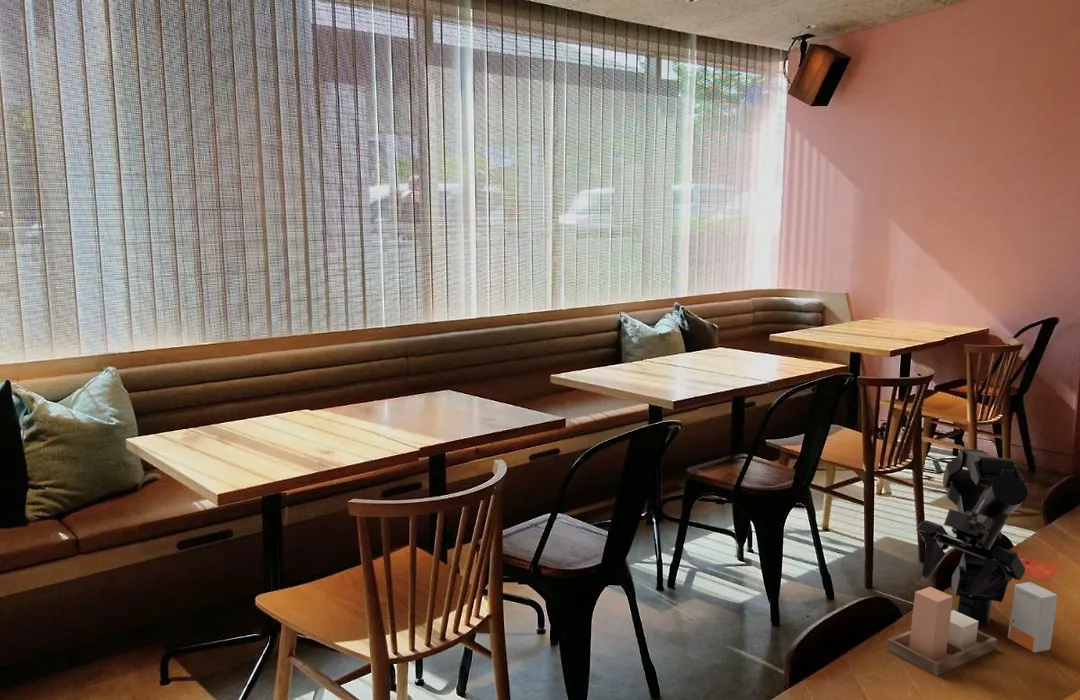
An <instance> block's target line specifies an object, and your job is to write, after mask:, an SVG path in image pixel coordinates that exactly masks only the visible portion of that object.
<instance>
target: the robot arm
mask: <svg viewBox="0 0 1080 700" xmlns="http://www.w3.org/2000/svg"><path fill="white" fill-rule="evenodd" d="M1025 481H1026V479H1025V478H1024V477H1023V475H1022V473H1021V471H1020V470H1019V466H1018V465H1016V463H1015V460H1013V459H1012V458H1006V457H1005V458H1003V457H995V456H991V455H990V454H988V453H987V451H984V450H979V449H970V448H969V449H968V448H964V449H960V450H959V454H958V456H957V457H955V458H953V459H952V460H949V462H947V463H946V466H945V470H944V473H943V477H942V485H943V486H942V487H943V488H944V489H945V491H946V495H947V499H949V500H950V501H951V502H952V503H953V504H954V505H956V507H957V510H955V509H951V508H949V509H948V512H947V514H946V517H945V520H944V524H943V525H944V526H947V527H951V532H952V533H953V534H954V535H956V536H953V535H950V534H948V532H947V530H946V529H945V527H943V525H942V524H941V525H940V524H937V523H935V522H933V521H931V520H922V521H921V522H920V523H919V524H918V526H917V527H916V532H917V533H918V535H919V536H920V538H921V539H922V541H923V542H924V544H925V551H924V552H925V553H924V561H923V566H922V573H921V575H922V577H923V578H927V577H928V576H930V574H931V573H932V572H934V570H935V568H936V567H937V565H938V564H939V563H940V562H941V561H942V559H943V558H944V556H945V555H946V553H945V552H944V551H945V550H947V549H948V548H949V547H952V548H953V549H956V550H959V551H962V552H963V553H962V554H961V557H960V560H959V564H958V565H957V566H956V568H955V570H954V571H953V574H952V575H951V588H952V590H953V593H954V595H955V596H956V597H958V603H957V612H959V613H961V614H963V615H966V616H968V617H970V618H972V619H975V620H977V621H978V627H979V626H980V627H983V626H987V625H989V623H990V618H991V610H992V601H994V602H998V603H1003V600H1004V598H1005V595H1006V590H1007V588H1008V584H1009V582H1011V581H1012V580H1013V579H1014V580H1016V581H1021V580H1022V578H1023V577H1024V575H1025V573H1026V567H1025V565H1024V563H1023V561H1022V559H1021V558H1020V557H1019V555H1018V554H1017V552H1015V551H1013V550H1010V549H1007V548H1005V547H1002V546H998V545H997V546H994V547H992V546H993V544H994V542H995V541H996V539H997V540H1001V539H1002V537H1003V533H1002V530H1003V529H1004V526H1005V525H1006V523H1007V521H1008V519H1009V518H1010V516H1011V515H1012V513H1013V512H1015V511H1016V510H1017V509H1018V508H1019V507H1020V506H1021V505H1022V504H1023V503H1024V502H1025V501H1026V500H1027V498H1028V492H1029V491H1028V488H1027V486H1026V484H1025V483H1026V482H1025ZM991 547H992V549H991Z"/></svg>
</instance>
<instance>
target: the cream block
mask: <svg viewBox="0 0 1080 700" xmlns="http://www.w3.org/2000/svg"><path fill="white" fill-rule="evenodd" d="M978 627H979V626H978V621H977V620H975V619H972V618H970V617H968V616H966V615H963V614H961V613H959V612H957V611H956V610H954V609H953V610H952V609H951V617H950V626H949V634H948V641H950V642H952V643H954V644H956V645H958V646H960V647H962V648H964V649H967V648H969V647H971V646H974V645H976V637H977V630H979V629H978Z"/></svg>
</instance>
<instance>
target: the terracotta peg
mask: <svg viewBox="0 0 1080 700" xmlns="http://www.w3.org/2000/svg"><path fill="white" fill-rule="evenodd" d="M953 597H954V596H952V595H951V594H948V593H946V592H943V591H941V590H939V589H936V588H934V587H932V586H928V587H926V588H922V589H920V590H916V591H914V600H913V607H912V616H911V625H910V626H911V627H910V630H911V634H910V643H909V648H910V649H912V650H914V651H916V652H918V653H920V654H922V655H924V656H926V657H928V658H930V659H932V660H934V661H936V662H937V661H939V660H942V659H944V658H946V651H947V642H948V634H949V626H950V617H951V611H952V606H953V601H954V600H953V599H954V598H953Z"/></svg>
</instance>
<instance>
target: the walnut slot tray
mask: <svg viewBox="0 0 1080 700" xmlns="http://www.w3.org/2000/svg"><path fill="white" fill-rule="evenodd" d="M910 634H911V629H910V630H906V631H905V632H902V633H900V634H897V635H895V636H893V637H890V638H888V639H886V640H887V641H886V651H889V652H891V653H892V654H895V655H896V656H898V657H900V658H902V659H904V660H906V661H908V662H909V663H911V664H913V665H915V666H917V667H919V668H921V669H923V670H925V671H926V672H929V673H931V674H933V675H934V676H937V677H938V676H939V675H941V674H943V673H946V672H949V671H951V670H952V669H953V670H954V669H955V668H957V667H959V666H961V665H964V664H966V663H968V662H970V661H973V660H975V659H977V658H980V657H981V656H983V655H985V654H988V653H990V652H993V651H995V650H996V648H997V641H998V639H997V638H995V637H994V636H991V635H989V634H987V633H984V632H982V631H980V630H979V629H977V637H976V645H974V646H971V647H969V648H967V649H964V648H962V647H960V646H958V645H956V644H954V643H952V642H950V641H948V642H947V651H946V658H944V659H942V660H939V661H937V662H936V661H934V660H932V659H930V658H928V657H926V656H924V655H922V654H920V653H918V652H916V651H914V650H912V649H910V648H909V643H910Z"/></svg>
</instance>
